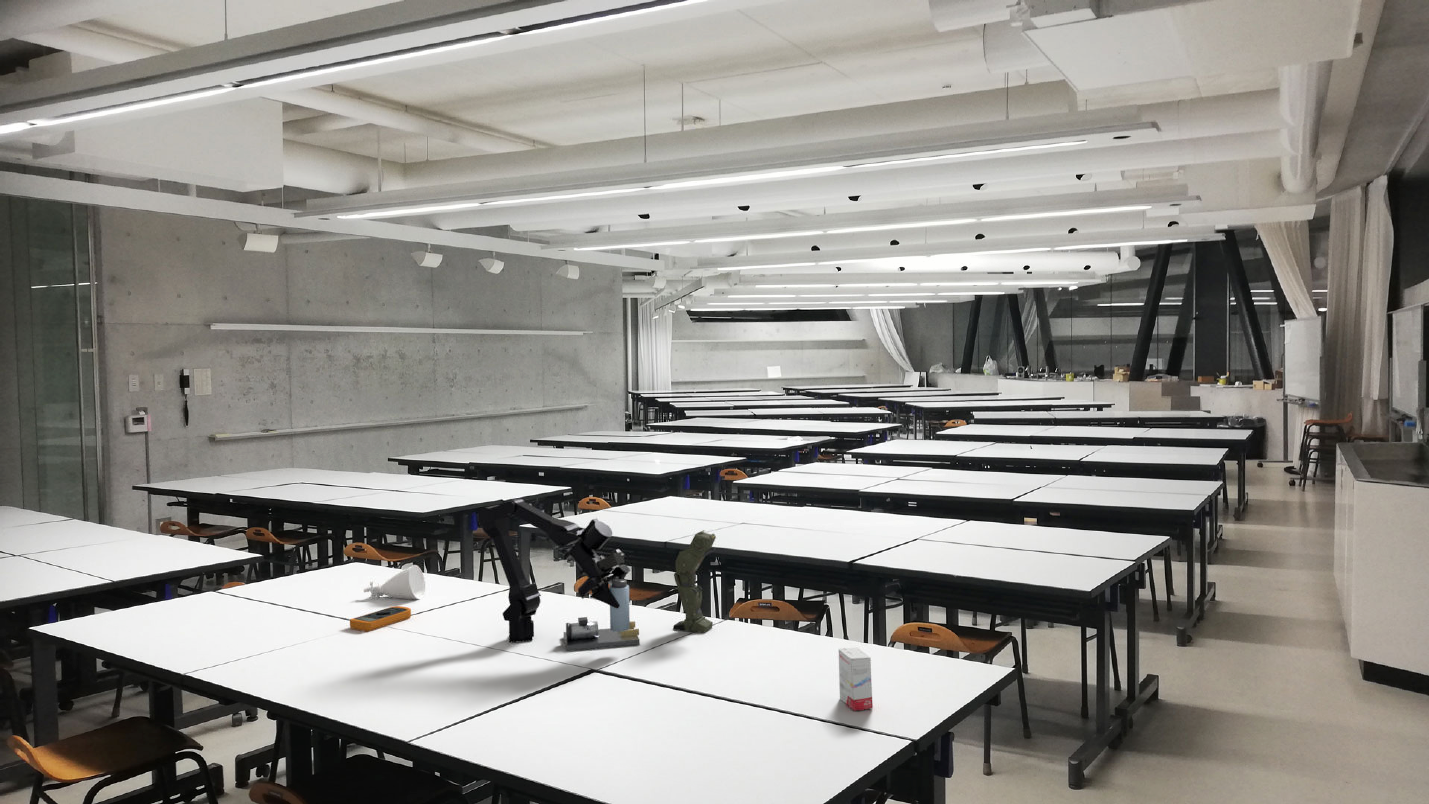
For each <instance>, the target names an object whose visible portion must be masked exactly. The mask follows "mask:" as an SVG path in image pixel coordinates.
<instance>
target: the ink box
mask: <svg viewBox="0 0 1429 804" xmlns="http://www.w3.org/2000/svg"><path fill="white" fill-rule="evenodd" d="M838 674H839V675H838V679H839V683H838V684H839V699H840V700H841V699H842V700H843V701H842V700H841V701H842V702H843V703H844V702H845V703H846V704H845V703H844V704H845V705H846V706H848V705H849V706H848V707H849V708H850V709H851V708H852V709H853V710H854V712H857V710H859V711H863V710H864V709H865V710H869V709H870V708H871V709H873V708H874V706H873V687H872V662H871V657H870V656H869V655H868V654H867V653H866V652H864V651H863V650H862V649H861V648H859V647H858V646H854V647H844V648H842V647H841V648H838ZM852 709H851V710H852ZM853 710H852V711H853ZM865 710H864V711H865Z"/></svg>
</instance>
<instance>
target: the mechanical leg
mask: <svg viewBox="0 0 1429 804" xmlns="http://www.w3.org/2000/svg"><path fill="white" fill-rule="evenodd" d="M694 534H695V535H694V536H693V538H692V540H691V542H690V544H689V547H687V548H686V549H684V550H681V552H679V553H678V555H677V557H676V560H675V563H674V564H675V572H674V573H673V577H674V578H673V579H674V581H675V584H676V587H677V591H678V595H679V599H680V601H681V607H682V609H683V610H684V612H685V619H684V620H680V621H678V622H676V623H675V624H674V625H673V627H672V629H673V630H675V631H682V632H695V633H704V634H705V633H707V632H708V631H710V630H711V629H713V621H711V620H709V619H707V618H706V616H705V615H703V611H702V608H701V604H702V601H703V588H702V587H701V586H700V585H696V582H697V580H696V579H697V574H696V572H697V571H698V569H699V567H700V566H701V564H702V563H703V561H704V559H705V557H706V556H707V555H709V554H711V553H713V552H715V551H716V547H713V545H714V542H715V541H716V539H717V537H716V535H715V533H711V534H710V533H708V532H705V530H704V529H703V530H701V531H699V532H697V533H694Z"/></svg>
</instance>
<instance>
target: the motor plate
mask: <svg viewBox="0 0 1429 804" xmlns="http://www.w3.org/2000/svg"><path fill="white" fill-rule="evenodd" d="M639 635H640V629H639V628H636V621H635V620H632V621H630V629H629V630H626V631H612V630H610V628H599V623H598V621H589V620H588V617H587V616H586V617H585V616H583V617H581V616H580V617H577V622H572V623H571V622H566V623H565V631H563V642H564V644H565V649H566V652H570V651H569V650H574V651H583V650H584V651H585V650H594V649H595V648H597V649H603V648H602V647H609V648H618V647H620V648H621V647H631V646H641V645H640V643H641V642H640V638H639Z"/></svg>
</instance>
